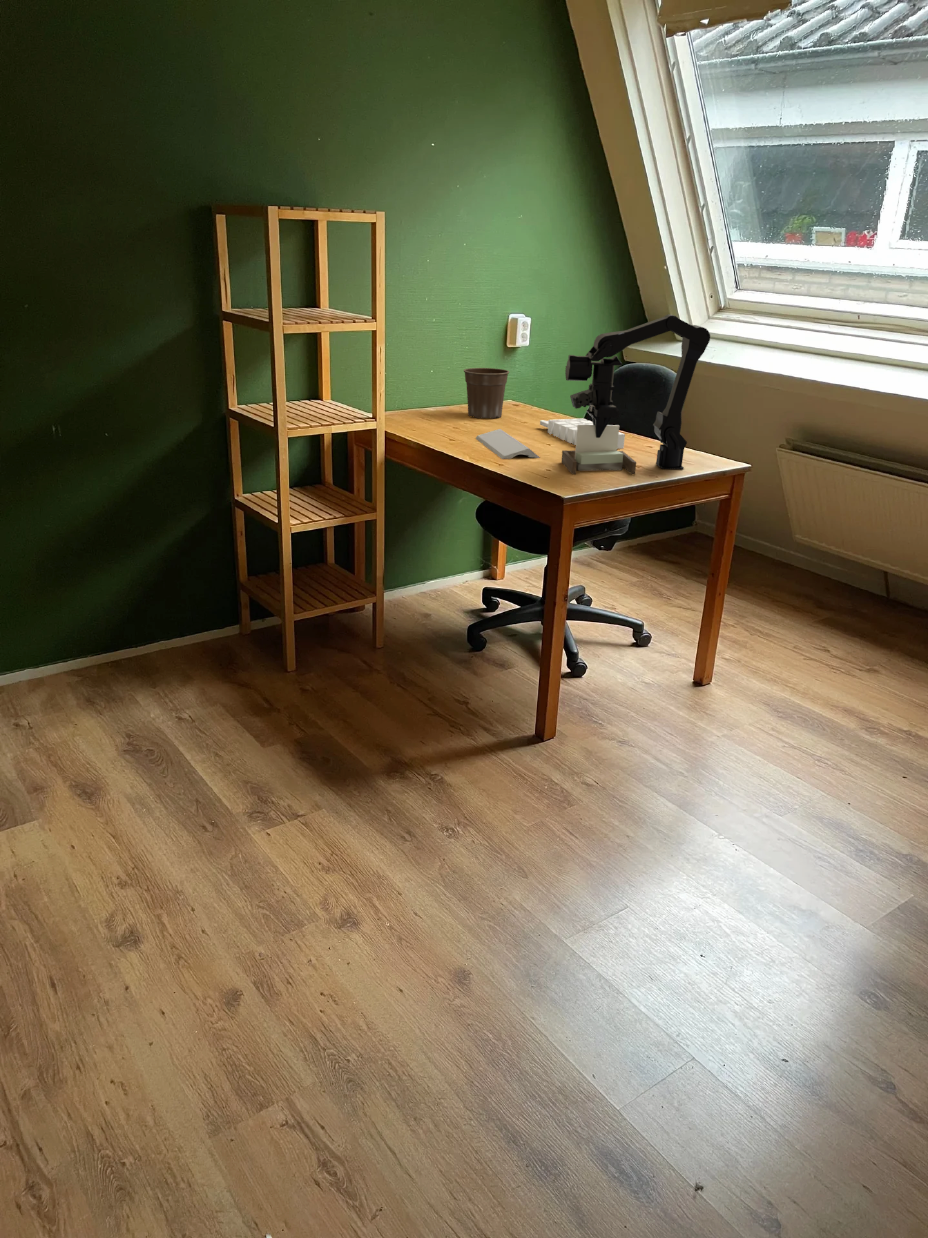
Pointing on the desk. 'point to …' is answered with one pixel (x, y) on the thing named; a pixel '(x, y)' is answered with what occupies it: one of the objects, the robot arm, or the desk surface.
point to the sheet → (596, 439)
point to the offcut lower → (599, 466)
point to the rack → (570, 462)
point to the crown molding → (504, 444)
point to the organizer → (572, 429)
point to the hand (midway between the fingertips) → (597, 437)
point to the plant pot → (485, 391)
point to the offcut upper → (599, 457)
